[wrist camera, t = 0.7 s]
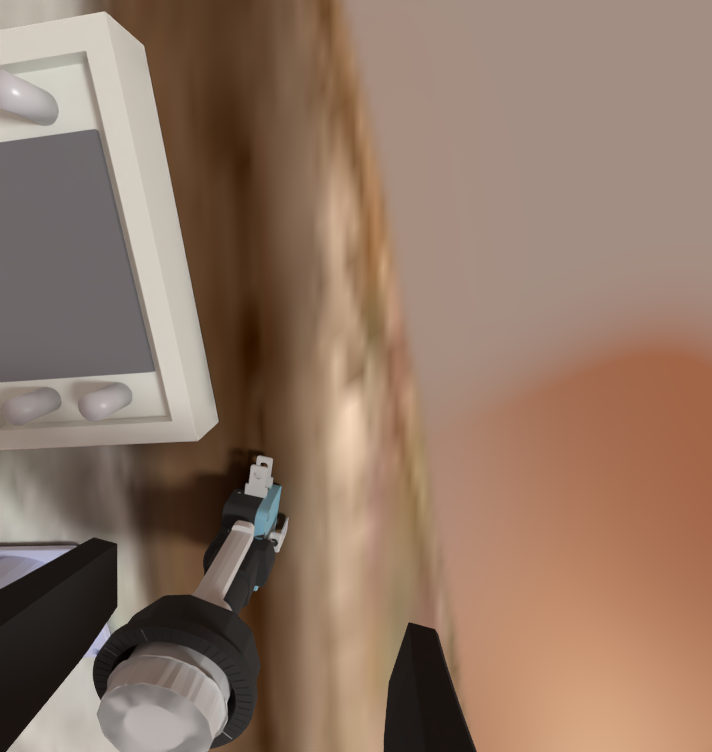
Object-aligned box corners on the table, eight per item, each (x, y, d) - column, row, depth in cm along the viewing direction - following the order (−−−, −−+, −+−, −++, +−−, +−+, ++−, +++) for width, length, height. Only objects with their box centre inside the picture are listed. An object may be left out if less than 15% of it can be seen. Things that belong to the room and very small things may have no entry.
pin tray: (22, 432, 21) (-44, 462, 18) (-99, 85, 17) (-214, 44, 13) (218, 421, 20) (185, 452, 17) (143, 45, 15) (80, -10, 12)
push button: (219, 441, 20) (64, 604, 11) (321, 462, 20) (256, 647, 10) (209, 546, 22) (70, 765, 12) (302, 567, 22) (233, 804, 12)
